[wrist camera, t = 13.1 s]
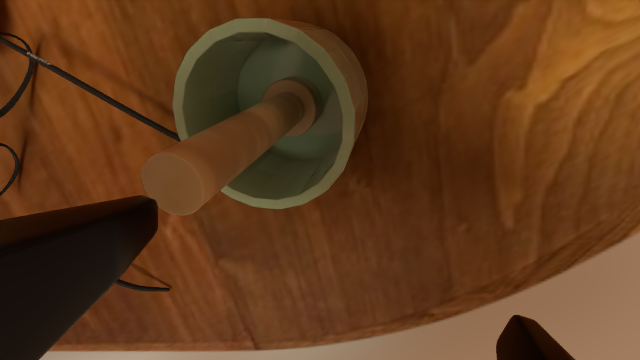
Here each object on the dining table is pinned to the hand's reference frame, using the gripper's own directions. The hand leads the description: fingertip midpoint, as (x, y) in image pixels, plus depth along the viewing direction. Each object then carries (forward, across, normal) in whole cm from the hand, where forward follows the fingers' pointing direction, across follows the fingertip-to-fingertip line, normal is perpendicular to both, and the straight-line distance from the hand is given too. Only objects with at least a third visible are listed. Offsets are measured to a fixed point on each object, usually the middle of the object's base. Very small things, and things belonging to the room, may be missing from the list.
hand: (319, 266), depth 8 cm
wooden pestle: (+12, +4, -1) cm, 13 cm away
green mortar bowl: (+12, +4, -1) cm, 13 cm away
